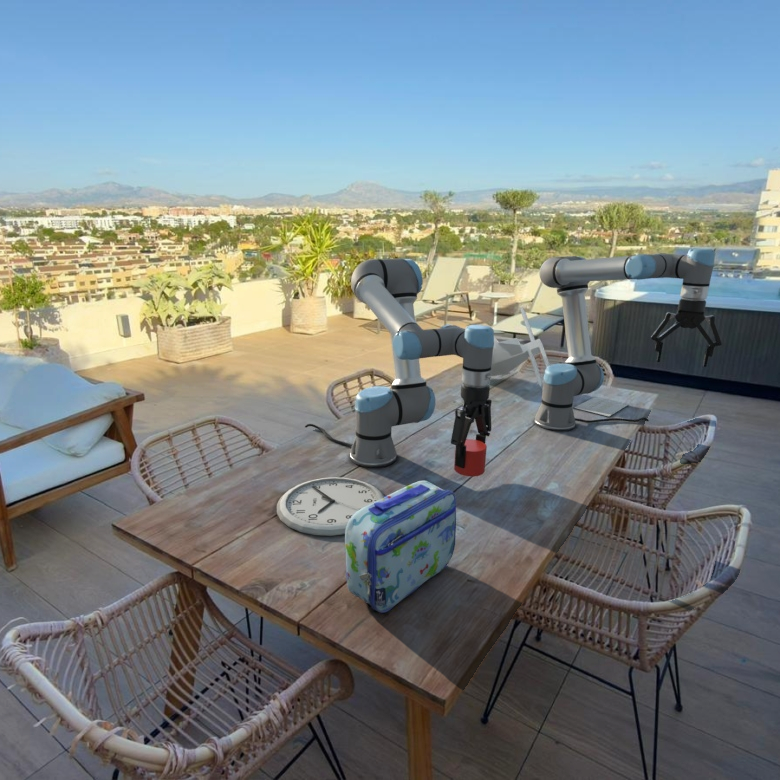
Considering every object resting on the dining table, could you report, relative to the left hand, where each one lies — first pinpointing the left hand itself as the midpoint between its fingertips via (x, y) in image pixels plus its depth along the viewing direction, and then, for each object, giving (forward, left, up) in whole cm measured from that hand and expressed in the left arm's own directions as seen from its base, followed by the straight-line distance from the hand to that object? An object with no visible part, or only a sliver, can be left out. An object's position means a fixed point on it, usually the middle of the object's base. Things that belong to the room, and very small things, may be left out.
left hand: (469, 461), depth 146 cm
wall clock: (-32, -21, -11) cm, 40 cm away
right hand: (+55, +60, +20) cm, 84 cm away
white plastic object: (-10, +117, -11) cm, 118 cm away
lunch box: (-3, -43, -11) cm, 45 cm away
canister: (0, 0, -3) cm, 3 cm away
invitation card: (+33, +101, -11) cm, 107 cm away
